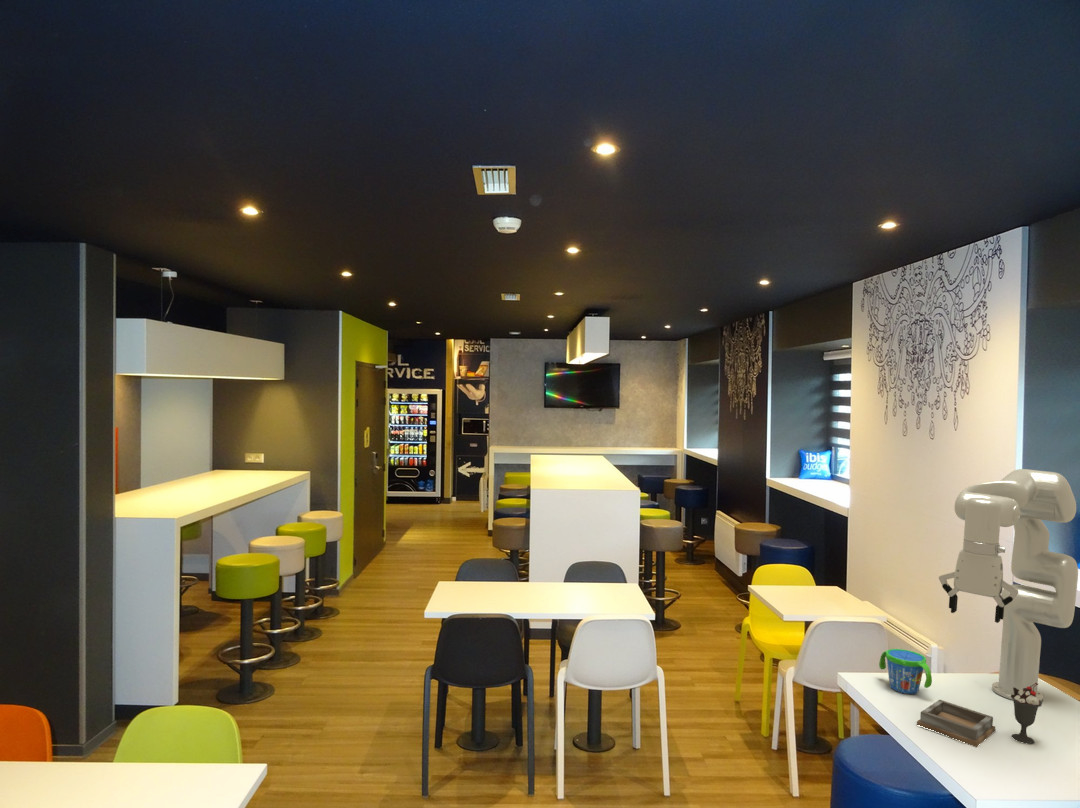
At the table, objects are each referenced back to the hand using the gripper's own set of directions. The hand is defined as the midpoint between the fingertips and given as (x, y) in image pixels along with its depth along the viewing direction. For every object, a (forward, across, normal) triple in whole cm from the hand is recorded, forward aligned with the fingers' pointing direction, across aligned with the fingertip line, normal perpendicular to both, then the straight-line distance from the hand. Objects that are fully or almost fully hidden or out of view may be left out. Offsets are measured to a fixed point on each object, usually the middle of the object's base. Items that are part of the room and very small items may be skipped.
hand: (975, 616), depth 189 cm
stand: (+31, +3, -4) cm, 31 cm away
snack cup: (+31, +20, -22) cm, 43 cm away
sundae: (+31, -11, -11) cm, 35 cm away
